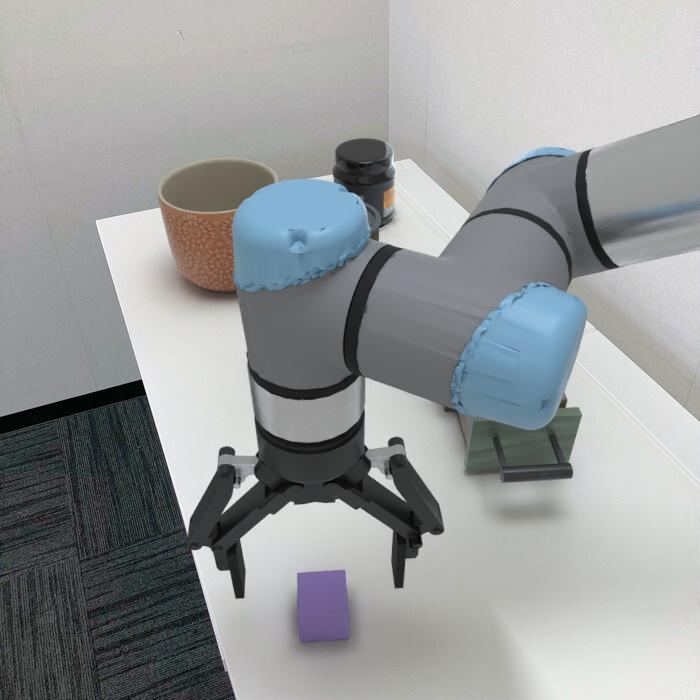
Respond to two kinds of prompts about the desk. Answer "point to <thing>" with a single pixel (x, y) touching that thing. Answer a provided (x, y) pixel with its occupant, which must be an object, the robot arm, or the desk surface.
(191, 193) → the planter
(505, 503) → the desk surface
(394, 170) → the supplement container
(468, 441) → the green drawer
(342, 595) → the lavender cube
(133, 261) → the desk surface
